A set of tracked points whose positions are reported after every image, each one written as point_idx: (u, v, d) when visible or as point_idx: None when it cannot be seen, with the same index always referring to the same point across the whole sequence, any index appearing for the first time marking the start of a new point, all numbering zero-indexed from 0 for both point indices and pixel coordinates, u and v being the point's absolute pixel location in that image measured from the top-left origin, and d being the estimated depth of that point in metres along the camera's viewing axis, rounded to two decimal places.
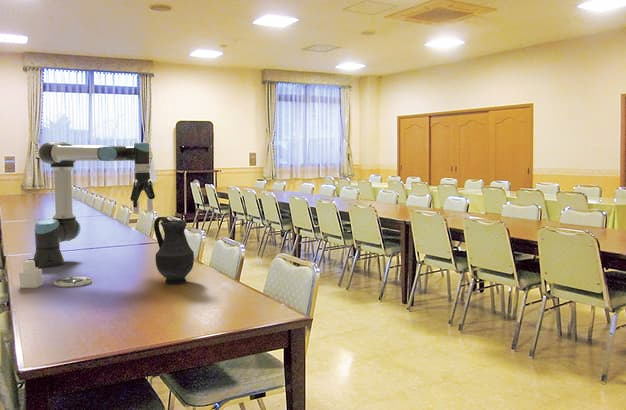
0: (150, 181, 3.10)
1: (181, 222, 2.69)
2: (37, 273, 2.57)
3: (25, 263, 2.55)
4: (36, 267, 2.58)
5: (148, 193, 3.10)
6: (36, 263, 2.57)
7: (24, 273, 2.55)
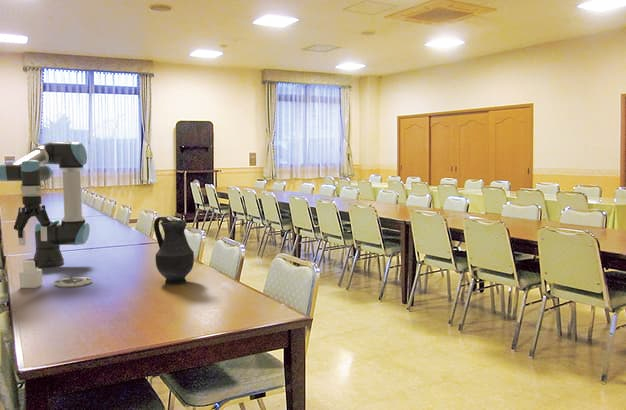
0: (43, 206, 2.62)
1: (181, 222, 2.69)
2: (37, 273, 2.57)
3: (25, 263, 2.55)
4: (36, 267, 2.58)
5: (41, 220, 2.62)
6: (36, 263, 2.57)
7: (24, 273, 2.55)
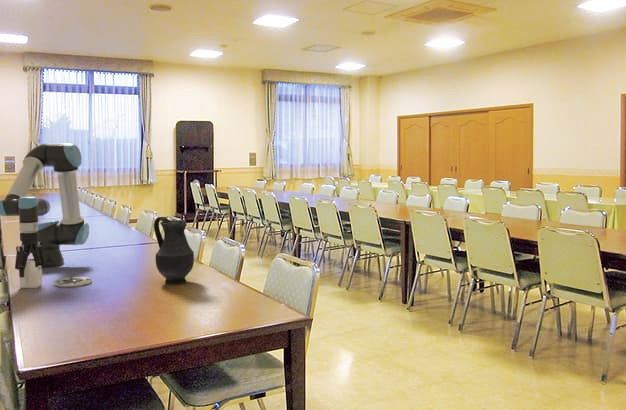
0: (41, 243, 2.63)
1: (181, 222, 2.69)
2: (37, 273, 2.57)
3: None
4: (36, 267, 2.58)
5: (36, 257, 2.61)
6: (36, 263, 2.57)
7: None
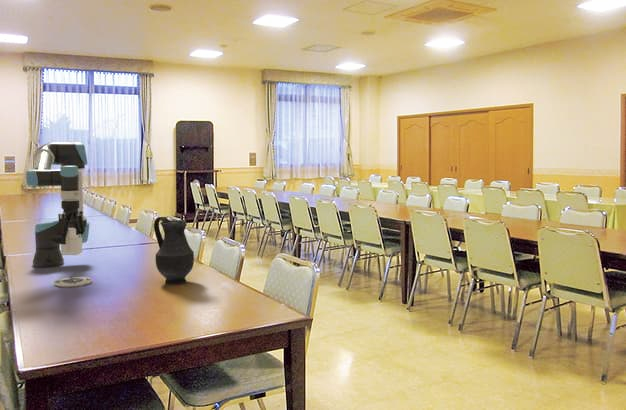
0: (81, 211, 2.67)
1: (181, 222, 2.69)
2: (78, 240, 2.62)
3: None
4: (77, 235, 2.62)
5: (76, 226, 2.66)
6: (77, 231, 2.62)
7: None
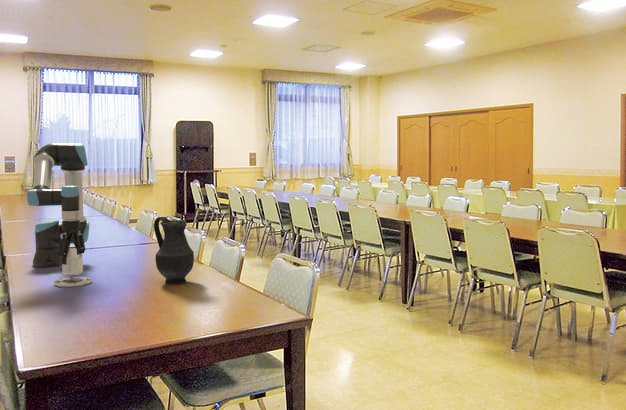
0: (81, 231, 2.68)
1: (181, 222, 2.69)
2: (79, 260, 2.62)
3: None
4: (77, 254, 2.63)
5: (77, 245, 2.67)
6: (77, 251, 2.63)
7: None
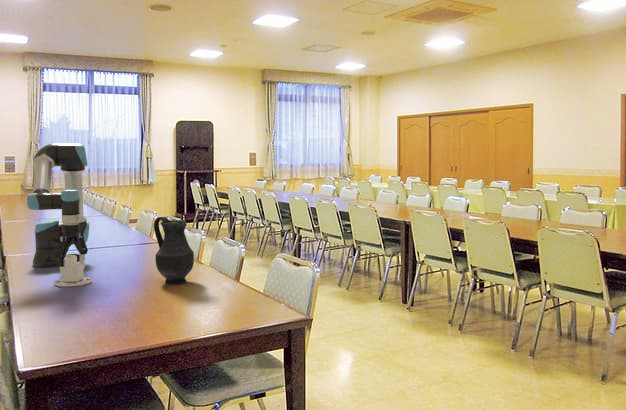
0: (81, 234, 2.68)
1: (181, 222, 2.69)
2: (79, 267, 2.63)
3: (67, 257, 2.61)
4: (78, 261, 2.64)
5: (79, 248, 2.68)
6: (78, 257, 2.64)
7: (66, 267, 2.61)
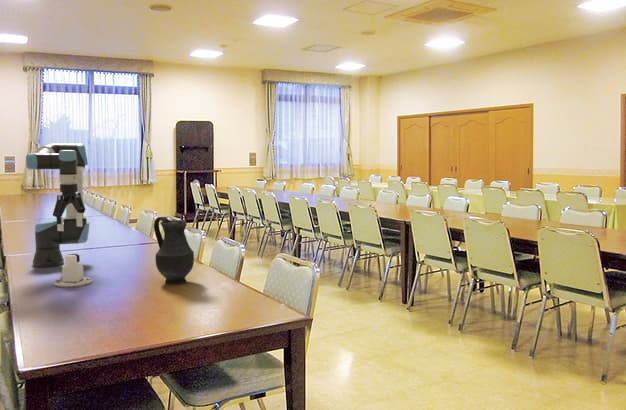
0: (79, 193, 2.75)
1: (181, 222, 2.69)
2: (79, 267, 2.63)
3: (67, 258, 2.61)
4: (78, 262, 2.63)
5: (76, 207, 2.75)
6: (78, 258, 2.63)
7: (66, 267, 2.61)
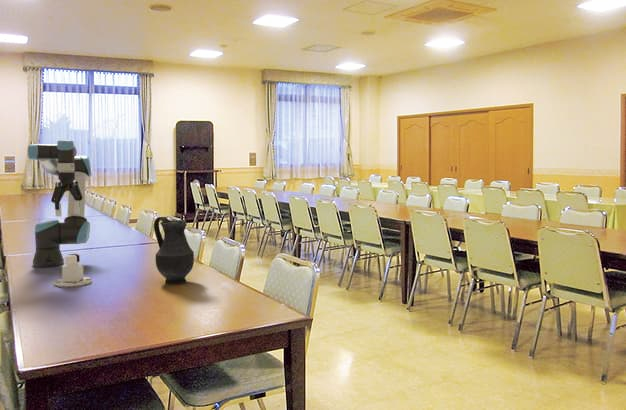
0: (76, 181, 2.90)
1: (181, 222, 2.69)
2: (79, 267, 2.63)
3: (67, 258, 2.61)
4: (78, 262, 2.63)
5: (74, 194, 2.90)
6: (78, 258, 2.63)
7: (66, 267, 2.61)
